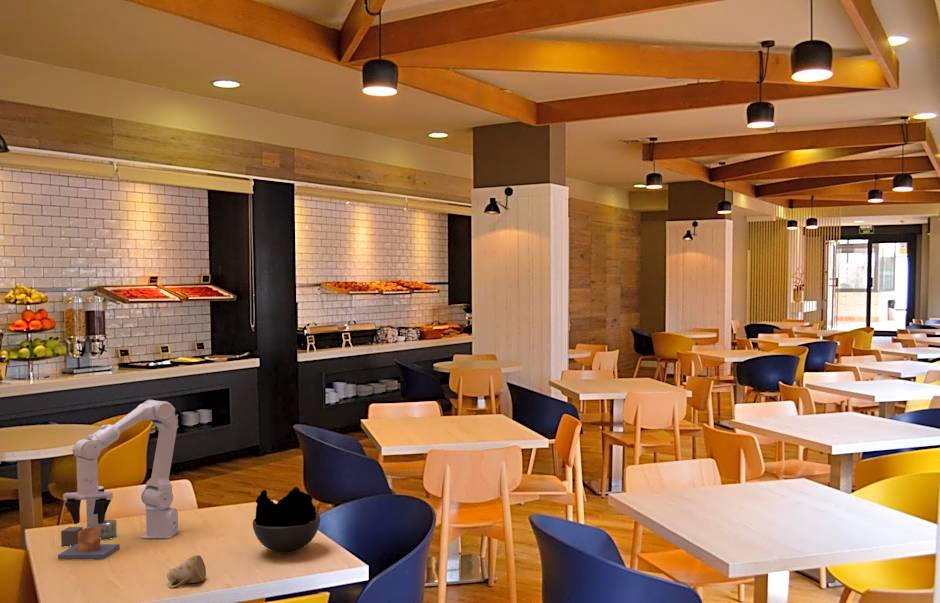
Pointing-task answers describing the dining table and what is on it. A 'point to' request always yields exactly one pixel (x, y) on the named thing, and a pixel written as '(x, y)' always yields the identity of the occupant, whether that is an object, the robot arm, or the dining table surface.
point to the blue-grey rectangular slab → (99, 553)
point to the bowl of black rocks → (286, 521)
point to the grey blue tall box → (93, 511)
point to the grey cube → (108, 529)
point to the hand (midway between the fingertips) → (88, 523)
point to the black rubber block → (70, 536)
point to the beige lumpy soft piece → (187, 572)
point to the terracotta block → (89, 539)
